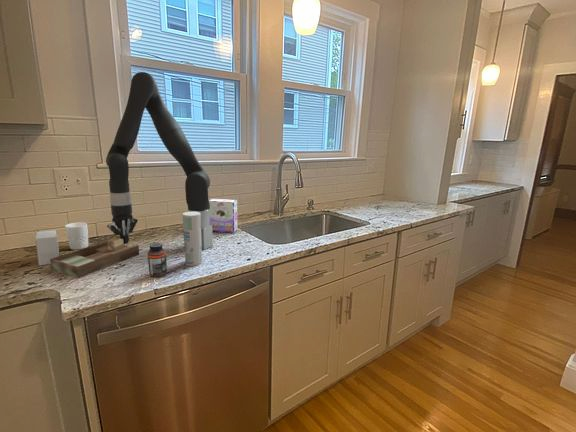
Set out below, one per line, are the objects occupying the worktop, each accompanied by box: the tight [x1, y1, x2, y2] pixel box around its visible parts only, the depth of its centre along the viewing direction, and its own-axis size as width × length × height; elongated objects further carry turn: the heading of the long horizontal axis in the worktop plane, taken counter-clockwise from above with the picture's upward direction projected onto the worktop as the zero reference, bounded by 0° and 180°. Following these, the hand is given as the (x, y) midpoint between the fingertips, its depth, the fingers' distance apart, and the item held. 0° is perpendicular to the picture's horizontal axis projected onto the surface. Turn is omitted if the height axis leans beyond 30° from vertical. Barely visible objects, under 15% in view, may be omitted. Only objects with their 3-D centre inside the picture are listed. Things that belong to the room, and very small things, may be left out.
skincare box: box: [34, 229, 60, 266], centre depth 121 cm, size 10×6×10 cm, turn 35°
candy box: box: [208, 198, 238, 234], centre depth 164 cm, size 14×6×16 cm, turn 80°
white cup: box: [64, 221, 90, 250], centre depth 135 cm, size 8×8×10 cm
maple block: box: [106, 237, 125, 251], centre depth 128 cm, size 4×4×4 cm
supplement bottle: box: [147, 242, 168, 278], centre depth 112 cm, size 6×6×11 cm
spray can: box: [182, 211, 203, 267], centre depth 121 cm, size 6×6×20 cm
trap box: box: [50, 241, 140, 279], centre depth 122 cm, size 15×25×4 cm, turn 155°
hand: (125, 243), depth 132 cm, fingers closed
